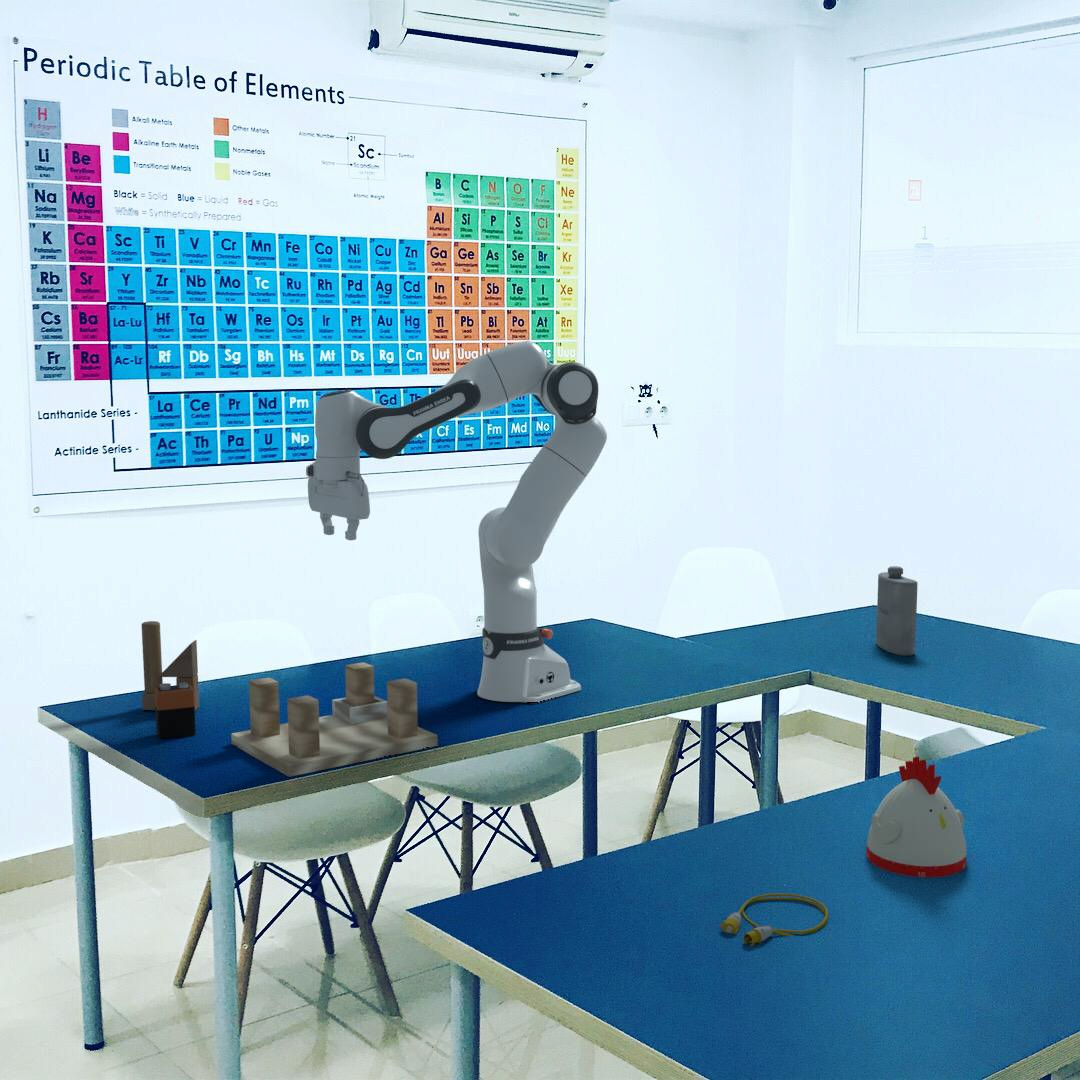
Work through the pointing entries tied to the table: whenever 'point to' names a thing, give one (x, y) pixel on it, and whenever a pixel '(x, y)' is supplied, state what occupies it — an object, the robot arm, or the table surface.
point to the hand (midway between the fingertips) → (339, 537)
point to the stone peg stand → (330, 729)
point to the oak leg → (359, 684)
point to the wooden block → (180, 667)
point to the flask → (896, 612)
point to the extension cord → (765, 931)
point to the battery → (175, 710)
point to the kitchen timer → (917, 827)
